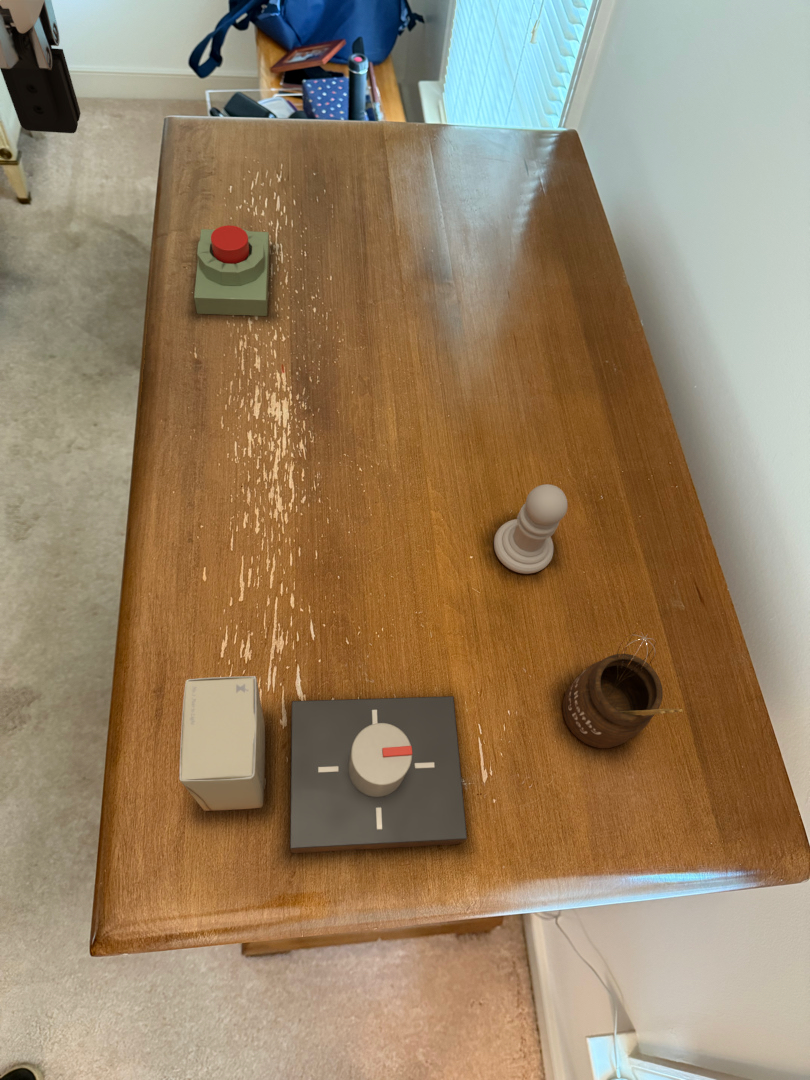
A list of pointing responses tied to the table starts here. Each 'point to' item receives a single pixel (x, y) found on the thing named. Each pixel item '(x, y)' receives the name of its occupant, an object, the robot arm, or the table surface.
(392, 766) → the hob knob
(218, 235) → the power button
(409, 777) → the panel
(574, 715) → the utensil holder
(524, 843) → the table surface
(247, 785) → the cosmetic box
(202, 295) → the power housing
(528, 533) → the chess piece
